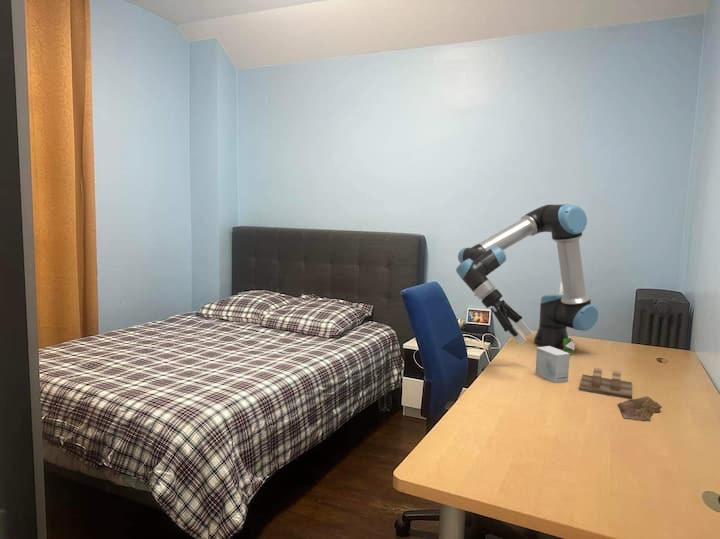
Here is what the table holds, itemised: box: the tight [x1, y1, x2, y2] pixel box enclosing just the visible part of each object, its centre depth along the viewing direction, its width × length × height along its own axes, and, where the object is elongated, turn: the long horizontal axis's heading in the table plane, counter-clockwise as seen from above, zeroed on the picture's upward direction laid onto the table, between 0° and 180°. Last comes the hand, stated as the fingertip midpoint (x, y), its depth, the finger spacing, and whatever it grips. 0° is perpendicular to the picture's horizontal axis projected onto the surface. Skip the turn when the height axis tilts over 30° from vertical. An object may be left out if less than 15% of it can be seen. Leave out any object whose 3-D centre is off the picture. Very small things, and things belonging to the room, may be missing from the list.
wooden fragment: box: [617, 396, 663, 422], centre depth 158 cm, size 26×11×1 cm, turn 135°
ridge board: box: [578, 367, 633, 400], centre depth 176 cm, size 16×16×5 cm
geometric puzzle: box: [559, 337, 579, 355], centre depth 218 cm, size 7×7×8 cm
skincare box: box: [534, 346, 571, 384], centre depth 184 cm, size 10×6×10 cm, turn 21°
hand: (526, 338), depth 187 cm, fingers open, 13 cm apart
